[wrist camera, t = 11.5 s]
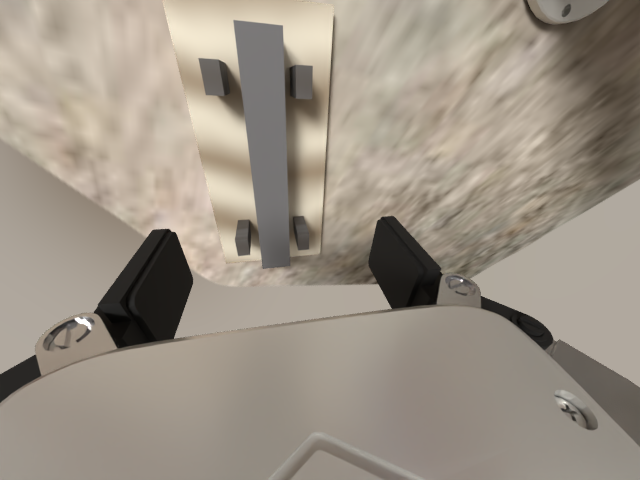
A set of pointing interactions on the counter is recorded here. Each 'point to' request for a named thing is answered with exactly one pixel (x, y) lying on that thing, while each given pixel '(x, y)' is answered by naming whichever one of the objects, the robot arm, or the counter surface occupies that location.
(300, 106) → the clip board
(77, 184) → the counter surface
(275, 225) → the bar
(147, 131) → the counter surface
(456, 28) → the counter surface
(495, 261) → the counter surface
